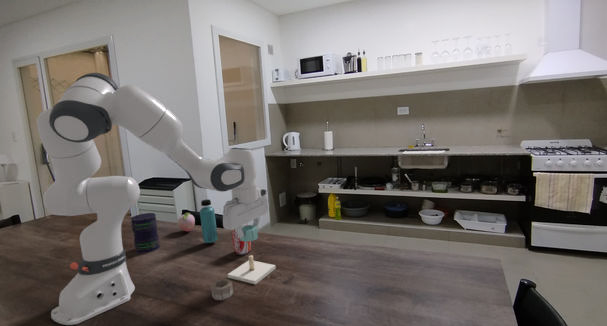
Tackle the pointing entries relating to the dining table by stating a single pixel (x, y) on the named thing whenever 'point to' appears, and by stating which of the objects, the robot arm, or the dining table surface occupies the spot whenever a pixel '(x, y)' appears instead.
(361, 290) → the dining table surface
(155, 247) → the storage jar
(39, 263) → the dining table surface
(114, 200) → the robot arm
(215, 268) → the dining table surface
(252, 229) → the teal ring
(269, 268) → the post stand
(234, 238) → the soda can
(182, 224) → the decorative fruit
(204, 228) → the beverage bottle
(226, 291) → the grey ring
